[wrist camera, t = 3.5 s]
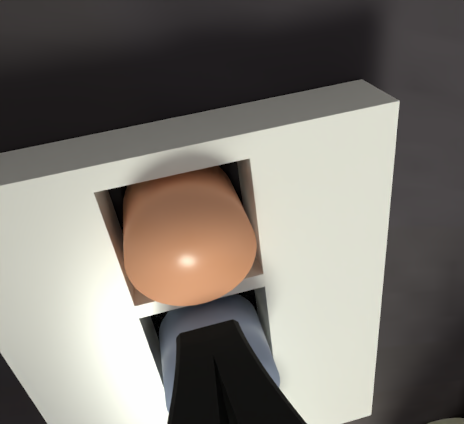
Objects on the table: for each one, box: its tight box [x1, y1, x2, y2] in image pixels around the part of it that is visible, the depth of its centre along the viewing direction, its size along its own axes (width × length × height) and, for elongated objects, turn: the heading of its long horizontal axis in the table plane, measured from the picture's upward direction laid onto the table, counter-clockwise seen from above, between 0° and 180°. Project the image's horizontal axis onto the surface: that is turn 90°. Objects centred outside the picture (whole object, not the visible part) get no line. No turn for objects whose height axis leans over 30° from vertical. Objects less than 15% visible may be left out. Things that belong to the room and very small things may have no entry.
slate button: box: [159, 294, 280, 413], centre depth 16 cm, size 4×4×3 cm
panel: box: [0, 79, 399, 424], centre depth 18 cm, size 17×14×2 cm
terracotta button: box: [123, 165, 257, 306], centre depth 14 cm, size 4×4×3 cm
